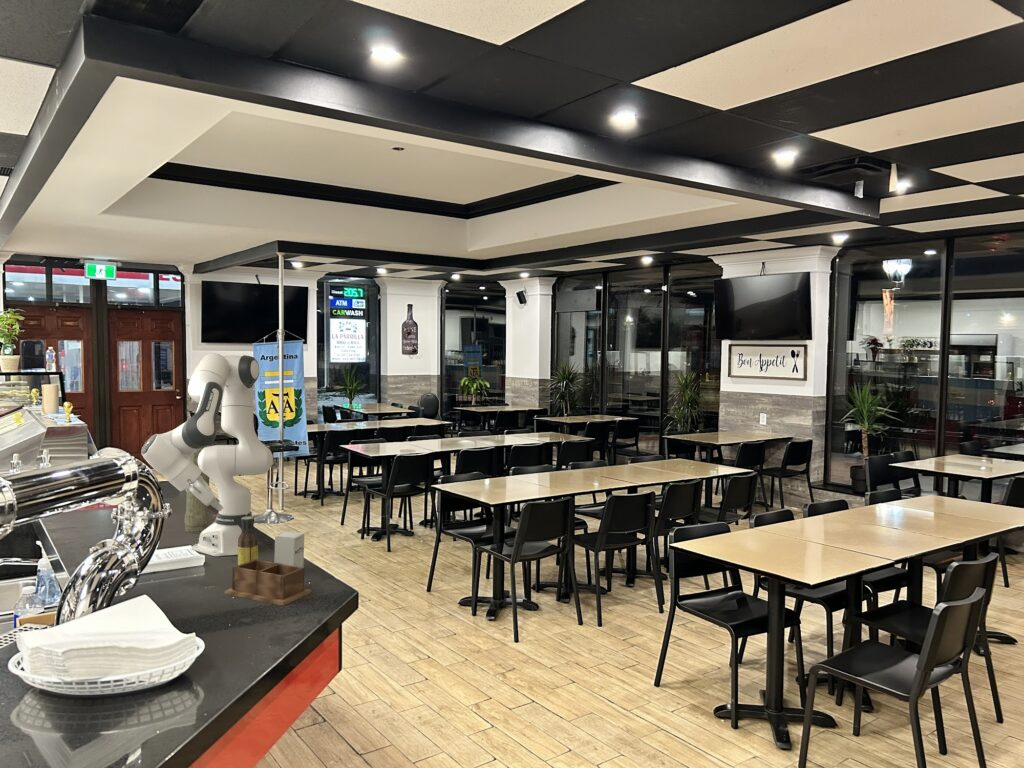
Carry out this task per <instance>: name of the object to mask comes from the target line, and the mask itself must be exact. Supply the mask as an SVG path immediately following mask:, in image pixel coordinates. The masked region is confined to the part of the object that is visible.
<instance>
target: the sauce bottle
mask: <svg viewBox="0 0 1024 768" xmlns="http://www.w3.org/2000/svg"><path fill="white" fill-rule="evenodd" d="M254 522H255V517H254V516H252V517H251V516H247V517H242V518H241V523H242V533H241V534H240V536H239V538H238V555H237V566H238V565H241V564H243V563H246V562H249V561H252V560H255V559H257V560H259V544H258V541H259V540H258V536H257V533H255V528H254V527H255V525H254V524H255V523H254Z"/></svg>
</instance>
